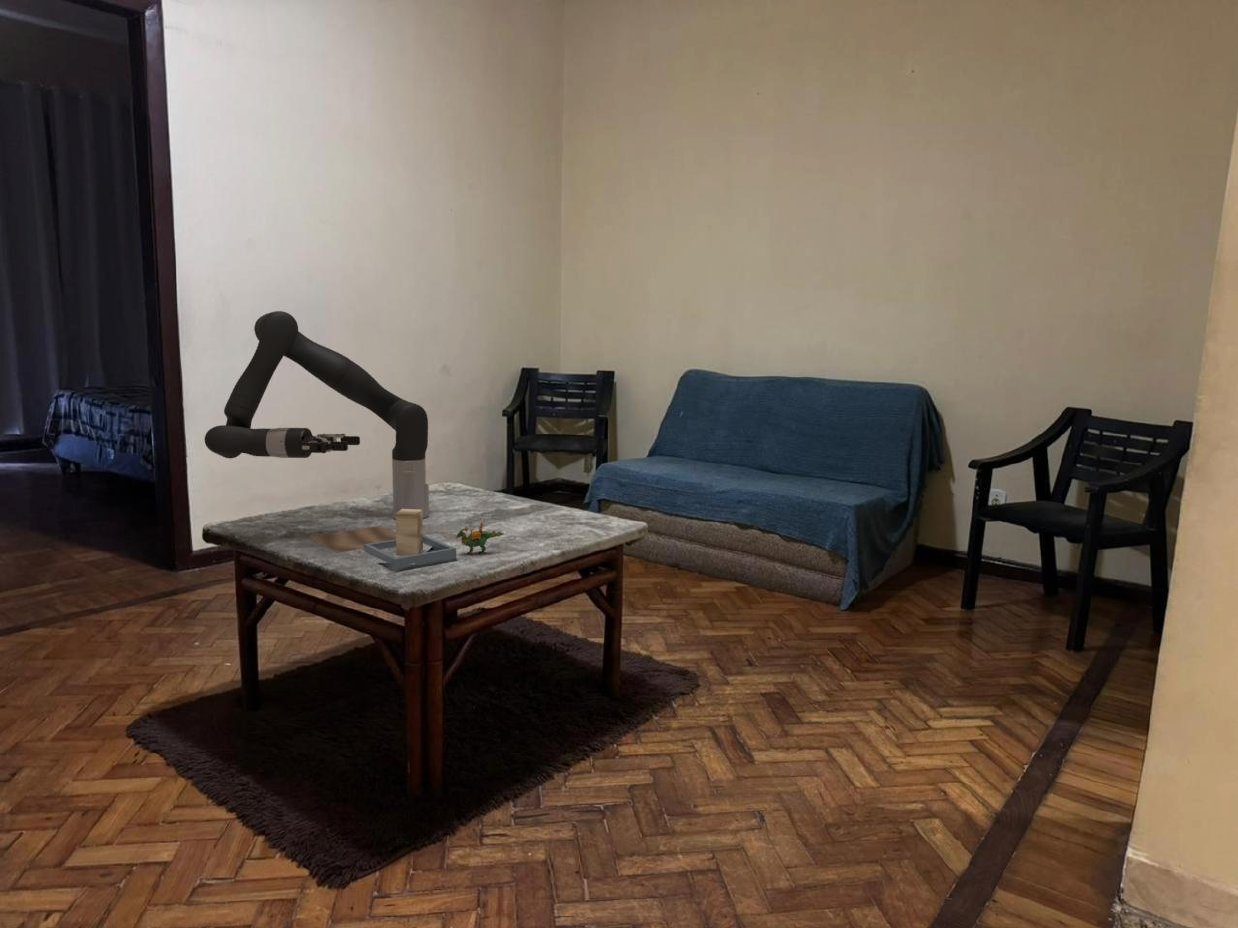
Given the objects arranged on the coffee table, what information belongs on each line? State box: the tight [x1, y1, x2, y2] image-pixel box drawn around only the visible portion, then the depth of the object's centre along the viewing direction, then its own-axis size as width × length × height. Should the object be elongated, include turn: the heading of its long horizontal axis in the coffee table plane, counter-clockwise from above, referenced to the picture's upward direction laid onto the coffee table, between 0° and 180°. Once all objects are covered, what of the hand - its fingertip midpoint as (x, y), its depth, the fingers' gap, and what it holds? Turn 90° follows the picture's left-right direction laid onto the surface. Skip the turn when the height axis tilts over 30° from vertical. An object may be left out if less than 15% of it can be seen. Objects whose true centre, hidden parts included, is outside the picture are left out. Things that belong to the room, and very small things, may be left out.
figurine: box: [455, 521, 505, 556], centre depth 216 cm, size 3×12×8 cm, turn 107°
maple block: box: [395, 509, 424, 556], centre depth 209 cm, size 5×5×11 cm
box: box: [363, 534, 457, 573], centre depth 210 cm, size 16×16×3 cm
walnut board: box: [307, 525, 396, 553], centre depth 222 cm, size 20×18×2 cm
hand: (353, 443), depth 217 cm, fingers open, 8 cm apart
